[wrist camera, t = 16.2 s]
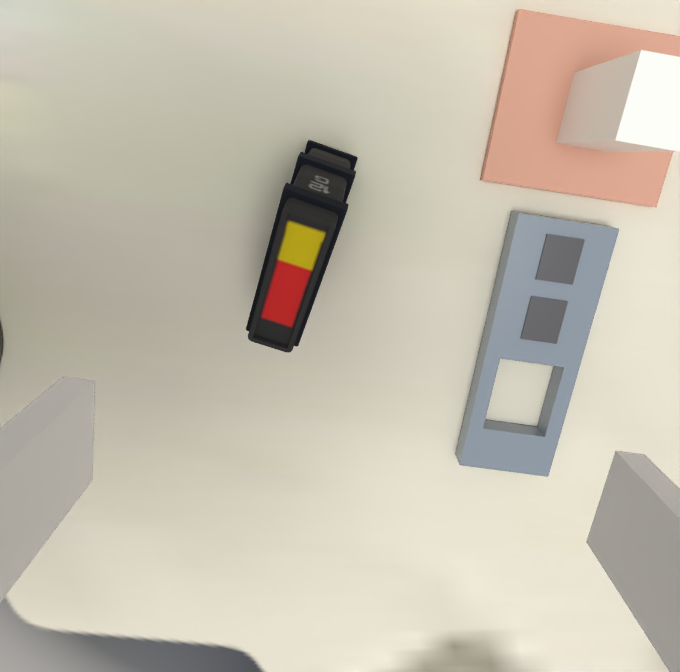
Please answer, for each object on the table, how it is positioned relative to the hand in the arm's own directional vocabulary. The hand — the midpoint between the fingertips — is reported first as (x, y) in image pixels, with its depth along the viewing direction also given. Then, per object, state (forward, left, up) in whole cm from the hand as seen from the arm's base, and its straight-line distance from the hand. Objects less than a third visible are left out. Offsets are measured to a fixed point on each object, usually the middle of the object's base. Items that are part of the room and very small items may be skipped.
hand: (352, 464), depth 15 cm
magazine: (-3, +1, -35) cm, 35 cm away
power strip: (+17, -6, -35) cm, 39 cm away
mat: (+17, +13, -35) cm, 41 cm away
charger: (+17, +13, -34) cm, 40 cm away
